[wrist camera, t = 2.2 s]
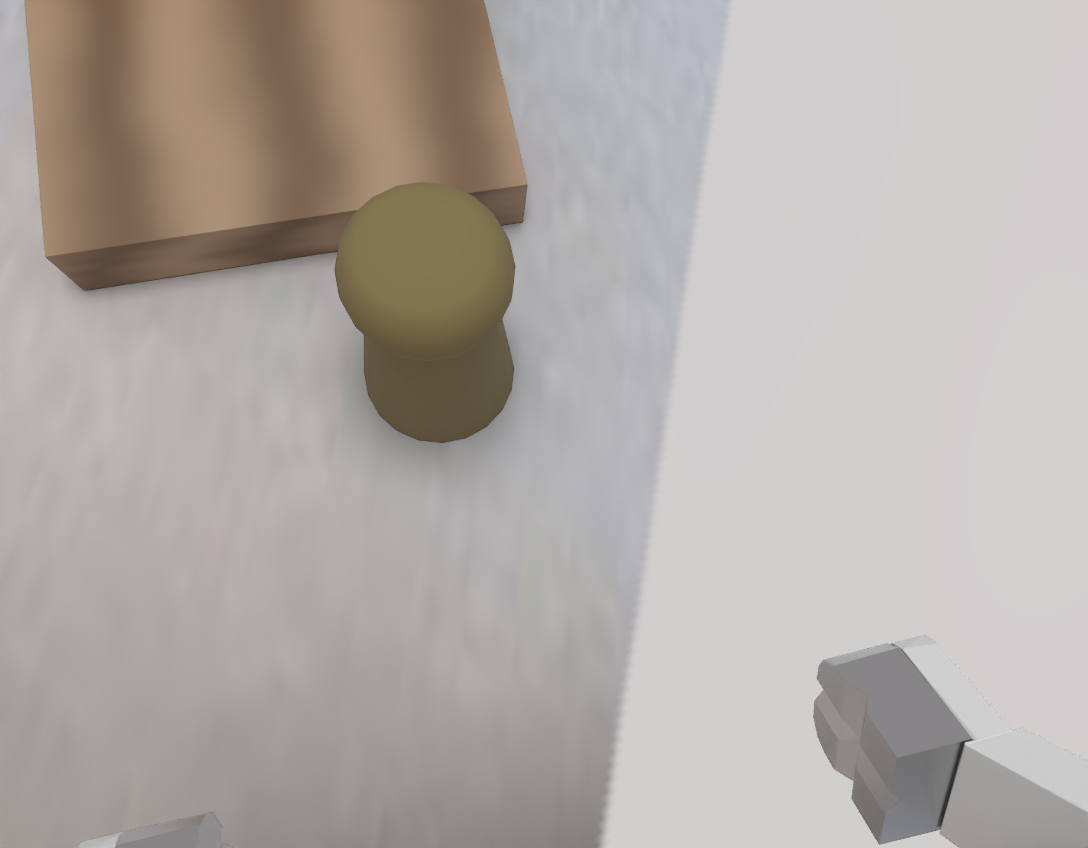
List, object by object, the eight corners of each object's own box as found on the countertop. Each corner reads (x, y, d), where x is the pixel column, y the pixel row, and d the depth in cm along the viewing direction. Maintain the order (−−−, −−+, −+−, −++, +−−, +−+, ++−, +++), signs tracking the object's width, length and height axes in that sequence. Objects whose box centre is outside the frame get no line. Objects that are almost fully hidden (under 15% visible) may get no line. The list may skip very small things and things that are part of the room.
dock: (84, 290, 32) (14, 230, 27) (57, 0, 35) (-10, -101, 30) (522, 221, 34) (530, 155, 29) (461, -44, 37) (459, -144, 32)
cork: (452, 274, 33) (442, 108, 23) (544, 382, 32) (578, 264, 22) (334, 358, 32) (264, 224, 21) (425, 473, 31) (400, 394, 20)
